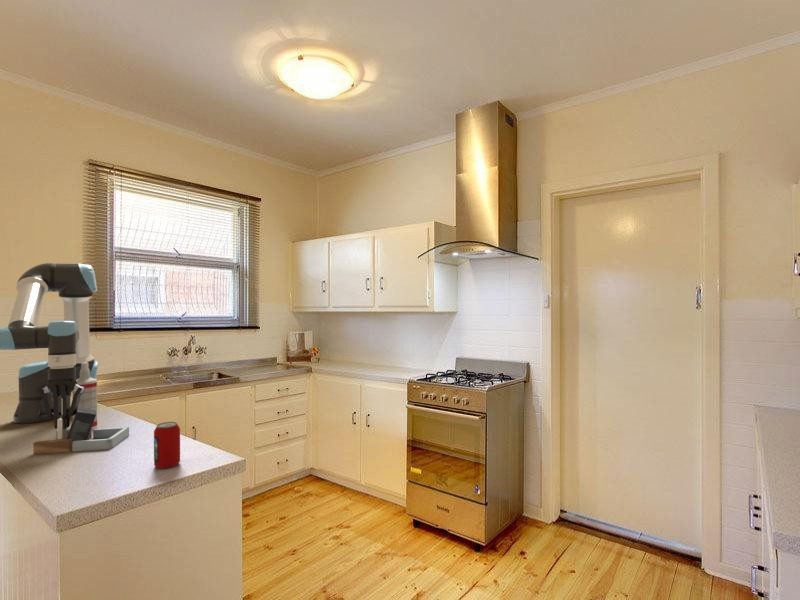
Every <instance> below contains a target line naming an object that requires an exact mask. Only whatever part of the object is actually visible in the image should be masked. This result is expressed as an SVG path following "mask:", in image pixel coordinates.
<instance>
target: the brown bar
mask: <svg viewBox="0 0 800 600" xmlns="http://www.w3.org/2000/svg"><path fill="white" fill-rule="evenodd" d="M69 430H70V428H68V429H67V435H68V433H69ZM92 434H93V430H92V428H91V430H90V433H89V436H88V438H87V440H91V439H92V438H93V435H92ZM66 438H67V437H65V438H63V439H57V430H56V437H55V439H50V440H49V439H48V440H47V439H46V440H37V441H34V442H33V443H32V445H33V448H32V449H33V455H38V454H54V453H64V452H65V453H68V452H69V453H70V452H71V451H73V444H72V439H66Z"/></svg>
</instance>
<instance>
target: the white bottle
mask: <svg viewBox="0 0 800 600" xmlns="http://www.w3.org/2000/svg"><path fill="white" fill-rule="evenodd" d="M76 381H77V385H79V386H81V387H85V389H84V391H83V392H82V394H81V398H80V401H79V405H78V407H79V408H86V409H92V410H96V417H95V420H94V422H93V425H92V431H93V430H94V429H98V379H97V378H96V379H94V378H91V377H90V371H89V369H88V363H87V362H85V363H82V364H81V370H80V378H79V379H77V380H76ZM74 390H75V388H74ZM74 390H73V391H72V397H73V396H74V393H75V391H74ZM74 417H75V415H73V416H72V420H73V419H74Z"/></svg>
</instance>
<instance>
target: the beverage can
mask: <svg viewBox="0 0 800 600" xmlns="http://www.w3.org/2000/svg"><path fill="white" fill-rule="evenodd" d="M180 462H181V428H180V426H179V424H178V422H177V421H166V422H161V423H158V424H156V427H155V429H154V430H153V465H154V466H155V467H156V468H158V469H163V470H164V469H171V468H174V467H176V466H177V465H178V464H179V463H180Z"/></svg>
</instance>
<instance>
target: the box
mask: <svg viewBox="0 0 800 600" xmlns="http://www.w3.org/2000/svg"><path fill="white" fill-rule="evenodd" d="M95 417H96V410H92V409H86V408H79V407H78V409H77V412H76V414H75V417H74V419H73V418H72V423H71V425H70V426H69V429H70V430H69V433H68V435H67V438H66V439H72V445H73V441H80V440H87V438H88V436H89V433H90V430H91V428H92V425H93V422H94V420H95Z"/></svg>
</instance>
